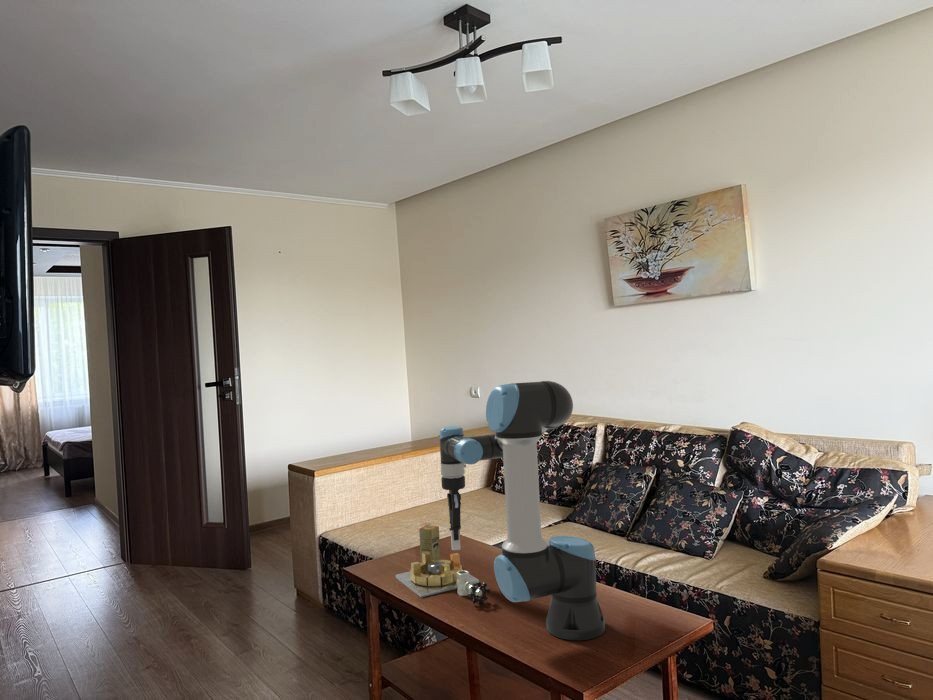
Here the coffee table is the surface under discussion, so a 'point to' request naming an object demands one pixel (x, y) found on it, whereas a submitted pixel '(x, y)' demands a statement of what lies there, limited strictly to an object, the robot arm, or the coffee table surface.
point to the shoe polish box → (430, 541)
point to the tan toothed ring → (435, 580)
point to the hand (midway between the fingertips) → (456, 549)
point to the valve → (470, 587)
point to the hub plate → (429, 590)
